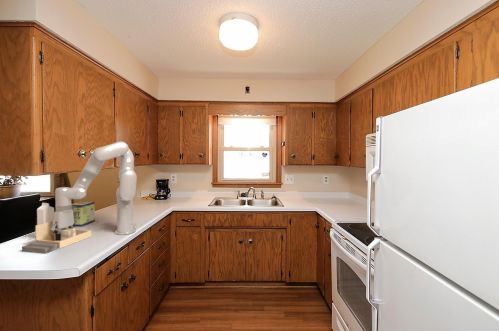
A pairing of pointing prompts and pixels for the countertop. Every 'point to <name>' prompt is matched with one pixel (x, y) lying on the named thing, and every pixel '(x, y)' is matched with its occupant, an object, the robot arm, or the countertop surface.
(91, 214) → the protein box
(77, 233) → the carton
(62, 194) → the robot arm
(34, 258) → the countertop surface
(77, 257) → the countertop surface
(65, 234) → the block
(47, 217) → the milk
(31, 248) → the block
